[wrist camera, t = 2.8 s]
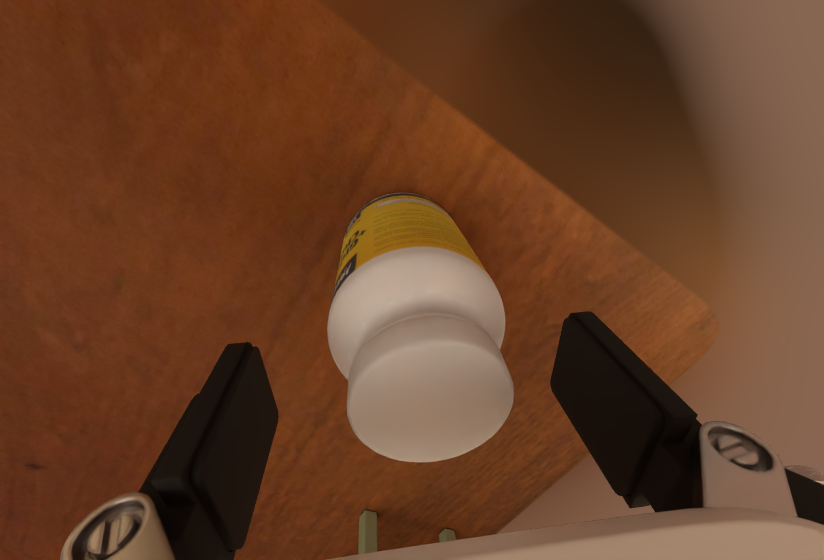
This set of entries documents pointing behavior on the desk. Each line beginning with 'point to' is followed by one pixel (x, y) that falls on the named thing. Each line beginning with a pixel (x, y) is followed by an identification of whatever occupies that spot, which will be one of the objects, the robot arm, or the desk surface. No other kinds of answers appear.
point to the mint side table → (370, 533)
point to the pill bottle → (417, 333)
